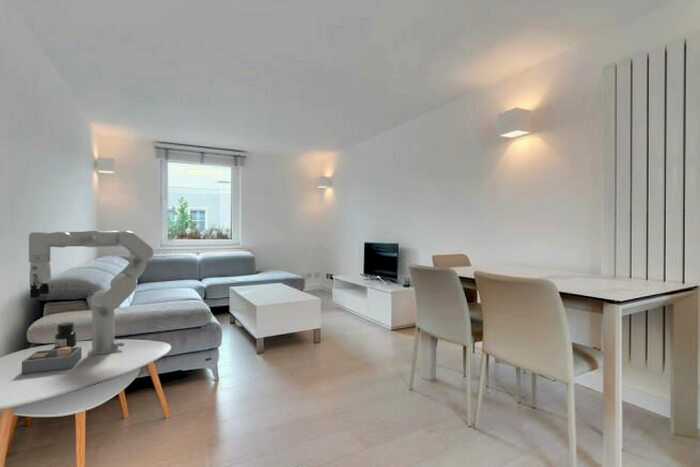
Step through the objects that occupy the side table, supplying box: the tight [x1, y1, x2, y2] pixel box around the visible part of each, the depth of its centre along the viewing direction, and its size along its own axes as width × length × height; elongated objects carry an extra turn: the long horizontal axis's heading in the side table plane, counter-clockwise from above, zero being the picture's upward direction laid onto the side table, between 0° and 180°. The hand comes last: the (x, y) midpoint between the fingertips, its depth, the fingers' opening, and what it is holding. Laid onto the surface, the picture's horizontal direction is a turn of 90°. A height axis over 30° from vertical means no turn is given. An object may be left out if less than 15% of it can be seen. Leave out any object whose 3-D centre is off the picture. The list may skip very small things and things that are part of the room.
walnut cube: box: [30, 353, 49, 360], centre depth 160 cm, size 5×5×5 cm
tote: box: [21, 346, 82, 375], centre depth 162 cm, size 17×14×6 cm
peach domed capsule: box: [56, 346, 72, 357], centre depth 164 cm, size 5×5×7 cm
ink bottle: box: [54, 321, 77, 349], centre depth 190 cm, size 10×9×12 cm
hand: (39, 295), depth 162 cm, fingers open, 9 cm apart
